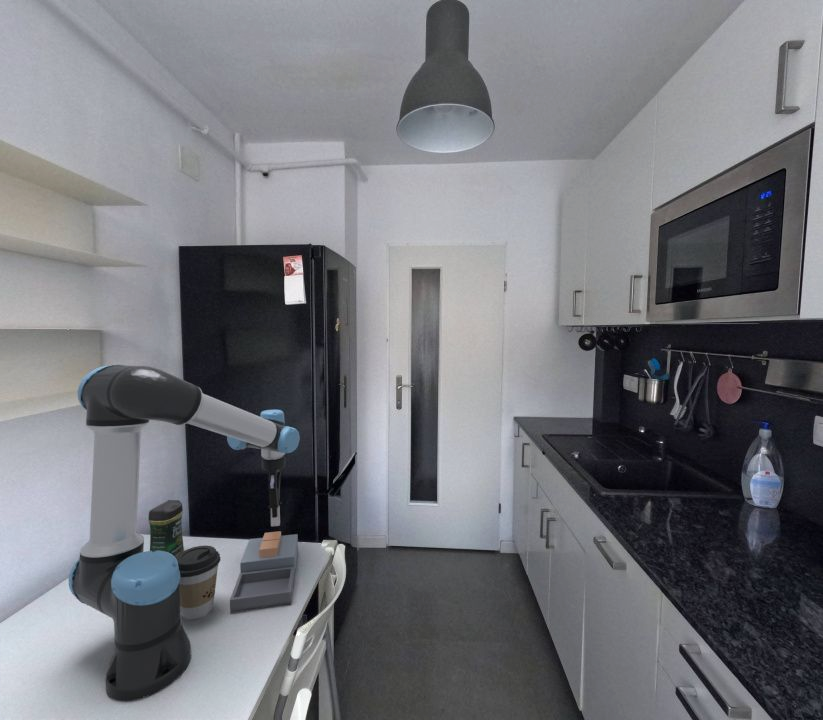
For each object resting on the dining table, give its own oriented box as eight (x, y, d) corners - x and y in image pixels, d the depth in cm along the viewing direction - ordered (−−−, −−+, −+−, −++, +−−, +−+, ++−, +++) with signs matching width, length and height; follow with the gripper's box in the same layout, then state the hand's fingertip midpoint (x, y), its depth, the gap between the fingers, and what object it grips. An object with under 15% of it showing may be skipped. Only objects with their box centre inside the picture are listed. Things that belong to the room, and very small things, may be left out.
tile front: (277, 555, 117) (277, 547, 117) (259, 558, 116) (259, 549, 116) (279, 547, 122) (278, 539, 122) (262, 549, 121) (261, 541, 121)
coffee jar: (169, 569, 121) (167, 510, 120) (144, 568, 121) (142, 509, 120) (188, 552, 130) (187, 497, 130) (166, 552, 131) (164, 497, 130)
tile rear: (279, 546, 122) (279, 538, 122) (262, 548, 121) (262, 540, 121) (281, 538, 127) (280, 531, 127) (264, 540, 126) (264, 532, 126)
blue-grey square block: (294, 576, 117) (294, 556, 117) (240, 583, 114) (240, 562, 113) (297, 551, 131) (297, 534, 130) (249, 557, 127) (249, 539, 127)
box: (290, 604, 104) (290, 591, 104) (230, 613, 101) (229, 600, 101) (294, 578, 116) (294, 566, 116) (240, 585, 113) (239, 573, 113)
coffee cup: (207, 626, 96) (205, 567, 96) (161, 626, 97) (159, 566, 96) (230, 596, 108) (228, 543, 107) (189, 596, 108) (187, 542, 107)
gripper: (283, 461, 126) (285, 533, 127) (287, 450, 139) (288, 515, 140) (258, 463, 124) (260, 535, 126) (264, 451, 137) (266, 517, 138)
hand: (275, 525), depth 133 cm, fingers closed
